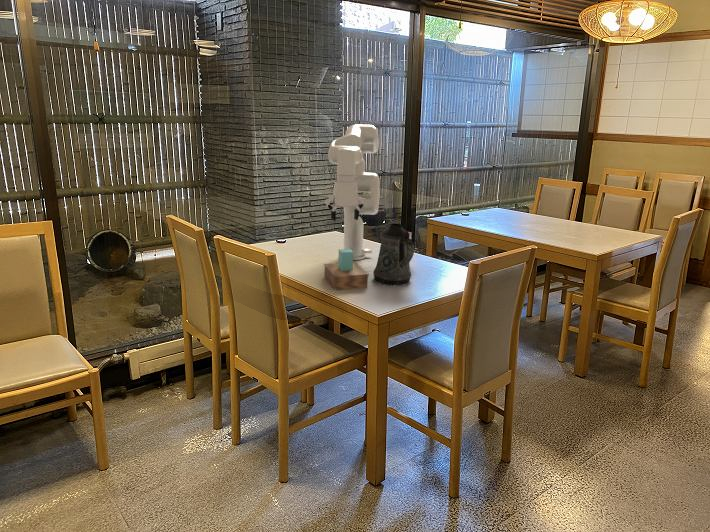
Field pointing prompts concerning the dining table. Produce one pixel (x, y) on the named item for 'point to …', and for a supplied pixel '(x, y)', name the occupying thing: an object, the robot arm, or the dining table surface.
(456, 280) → the dining table surface
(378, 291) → the dining table surface
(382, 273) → the beer stein
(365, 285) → the walnut box
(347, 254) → the teal block
